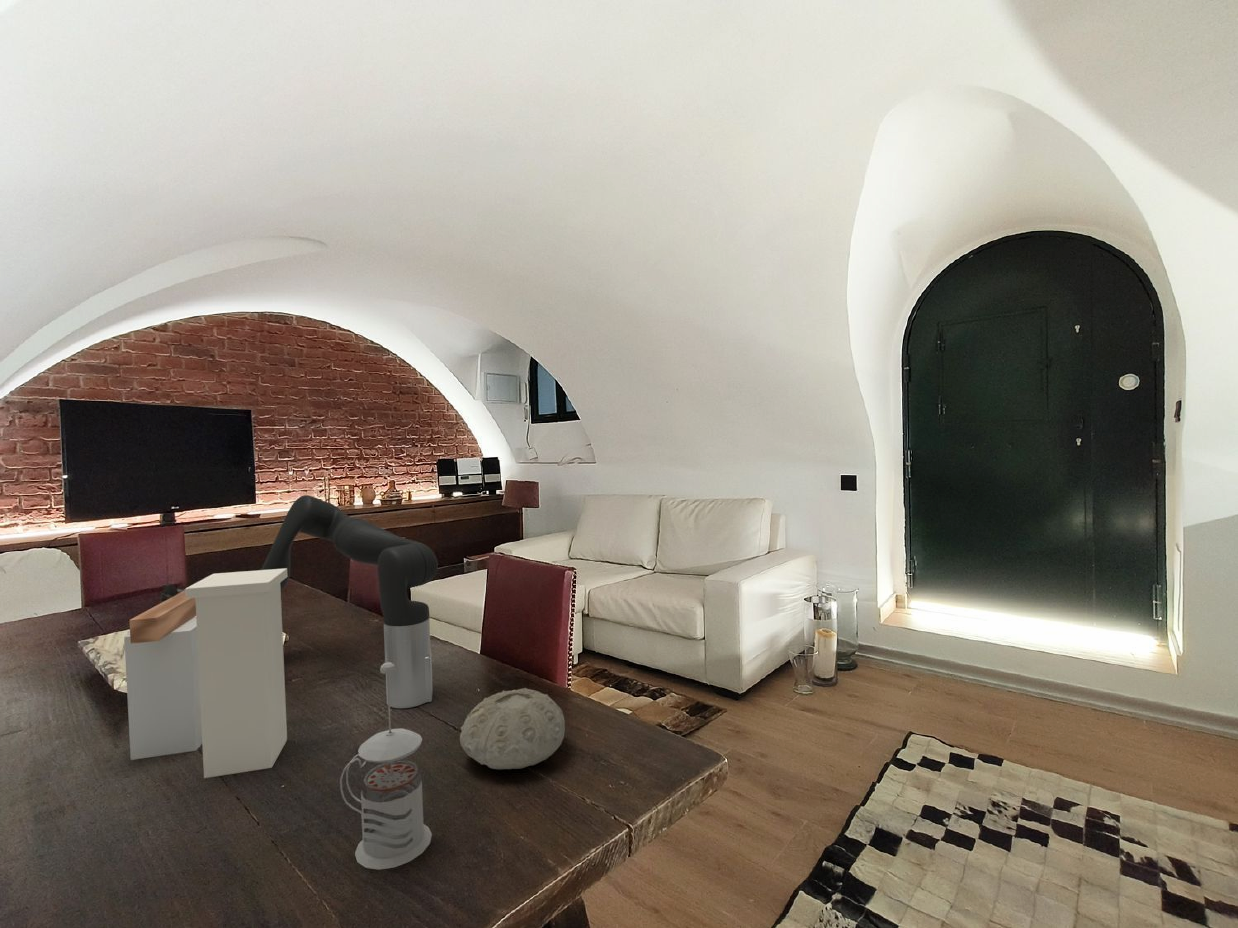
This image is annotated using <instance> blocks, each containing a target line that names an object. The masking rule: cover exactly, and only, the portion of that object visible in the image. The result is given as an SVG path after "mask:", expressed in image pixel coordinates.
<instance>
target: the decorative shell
mask: <svg viewBox="0 0 1238 928" xmlns="http://www.w3.org/2000/svg"><path fill="white" fill-rule="evenodd" d="M565 727H566V726H565V716H564V713H563V710H562V708H560V706H559V705H558V703H556V701H554V700H553V698H552V697H550V696H549V695H548V694H547V693H545V694H544V693H542V692H540V691H537V690H535V689H529V688H527V687H524V688H519V689H512V690H502V691H500V692H497V693H495V694H491V695H490V696H488V697H484V698H483V700H482V701H480V702H479V703H478V704H477V705H476V706H474V707H473V708H472V710H470V712H469V713H468V714H467V715H466V718H465V719H464V722H463V725H462V726H461V727H460V731H461V732H460V735H459V742H460V746H461V747H462V749H463V751H464V752H465V754H466V755H467V756H469V757H470V758H472V759H473V760H474V761H476V762H478V763H479V764H480V765H481V766H483V765H486V766H487V767H488V768H490V769H493V770H512V769H513V770H515V769H516V770H518V769H519V770H520V769H524V768H526V767H531V766H535V765H537V764H539V763H541V762H543V761H546V760H547V759H549V757H551V756H552V755H553V754H554V753H555V752H556V751H557V750H558V749H559V747H560V746H561V745H562V743H563V740H564V738H565V731H566V729H565Z"/></svg>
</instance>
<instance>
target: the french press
mask: <svg viewBox="0 0 1238 928" xmlns="http://www.w3.org/2000/svg"><path fill="white" fill-rule="evenodd" d="M394 671H395V666H394V664H392V663H391V662H386V663H385V662H384V663H383V664H381V665H380V669H379V673H380V674H384V675H386V674H387V684H388V705H387V706H388V707H387V709H388V729H387V730H383V731H380V732H376V733H375V734H374V735H372V736H371V737H369V738H368V739H366V740H365V741H364V742H363V743H361V744H360V746H359V748H358V750H357V752H358V754H356V755H355V756H353V758H352V759H351V760H350V761H349V762H348V763H347V764H346V765H345V767H344V768H343V770H342V773H341V774H340V779H339V789H340V794H341V797H342V799H343V801H344V803H345V804H346V805H347V806H348V807H349V808H350V809H351V810H353V811H355V812H357V813H359V814H360V817H361V820H360V821H361V833H362V840H361V841H360V842H358V845H357V847H356V849H355V853H354V855H355V858H356V862H357V863H358V864H360V865H361V866H362V867H364V868H366V869H372V870H386V869H391V868H392V869H393V868H397V867H399V866H402V865H404V864H407V863H410V862H412V861H414V859H415V858H418V856H421V855H422V854H423V853H424V851H425V850H426V849H427V848H428V846H429V845H430V844H431V841H432V836H433V833H432V832H431V829H430V828H429V826H427V825H426V824H424V806H423V805H424V804H423V803H424V802H423V782H422V776H421V774H420V767H419V765H418V763H416V762H413V761H412V760H406V759H405V758H406V757H408V756H410V755H413V754H414V753H415V752H416V751H417V750H418V749H419V748H420V747H421V744H422V742H423V738H422V736H421V735H420V734H419V733H417V732H414V731H412V730H409V729H407V728H402V727H401V728H392V727H391V726H392V723H391V707H390V693H389V673H392V672H394ZM358 757H360V758H361V759H362V760H364V762H363V763H362V760H361V759H360V758H358ZM403 759H405V760H403ZM356 761H358V764H359V767H360V768H363V767H364V766H365V765H366V764H367V762H368V763H378V764H379V765H377V766H374V767H373V768H372V769H370V770H368V772H367V773H366V774H364V777H363V779H362V783H363V786H364V787H365V797H364V788H362V789H361V791H360V799H361V800H360V799H359V798H358V797H357V796H355V795H354V793H353V792H352V790H351V787H350V784H349V770H350V767H351V765H352V764H353V763H354V762H356ZM344 774H346V776H345V778H346V780H345V783H346V787H347V790H348V791H349V794H350V795H351V796H350V797H352V798H353V799H354V800H355V801H356V802H358V803H360V804H361V809H358V808H357V807H354V806H353V805H352V804H351V803H349V801H348V800H347V798H346V797H345V793H344V789H343V778H344ZM410 783H411V784H413V785H414V786H415V787H416V788H414V787H413V786H411V785H410ZM403 787H404V788H405V789H408V790H409V791H410V793H409V792H407V791H406V790H398V789H401V788H403ZM385 792H389V793H386V794H385V795H384V796H383V797H381V795H383V794H384V793H385ZM394 796H403V797H400V798H395V799H393V800H389V801H387V800H388V799H390V798H392V797H394ZM365 810H366V812H365ZM410 810H411V811H410ZM382 813H383V814H382ZM365 820H366V821H365ZM366 829H367V831H366Z"/></svg>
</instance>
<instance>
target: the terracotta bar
mask: <svg viewBox="0 0 1238 928" xmlns="http://www.w3.org/2000/svg"><path fill="white" fill-rule="evenodd" d="M194 617H196V602H195V598H187V599H186V598H185V591H183V592H181V593H178V594H177V595H175V596H173V597H172V598H170V599H168V600H166V601H164V602H162V603H160V602H159V604H156V605H155V606H153V607H151V608H150V609H147V610H146V611H144V612H142V613H140V614H138V615H137V616H136V615H135V616H134V617H133V618H131V619H129V634H130V641H131V644H132V643H142V642H152V641H159V640H161V639H162V638H164V637H165V636H167V635H168V634H170V633H171V632H173V631H174V630H176V629H177V628H179V627H180V626H182V625H183V624H185V623H186V622H188V621H189V620H191V619H192V618H194Z"/></svg>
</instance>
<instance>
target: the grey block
mask: <svg viewBox="0 0 1238 928" xmlns="http://www.w3.org/2000/svg"><path fill="white" fill-rule="evenodd" d="M123 639H124V655H125V658H124V659H125V674H126V675H125V677H126V692H127V693H126V694H127V709H128V711H127V713H128V714H127V715H128V732H129V749H130V750H129V751H130V761H135V760H139V759H140V760H141V759H147V758H148V759H149V758H154V757H155V758H156V757H160V756H169V755H176V754H183V753H190V752H195V751H198V749H199V748H200V747H201V746H202V725H201V705H200V684H199V664H198V643H197V623H196V616H195V617H194V618H192V619H191V620H189V621H188V622H186V623H185V624H183V625H182V626H180V627H179V628H177V629H176V630H174V631H173V632H171V633H170V634H168V635H167V636H165V637H164V638H162V639H161V640H159V641H152V642H142V643H132V644H131V641H130V633H129V634H127V635H125V636H124V638H123Z"/></svg>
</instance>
